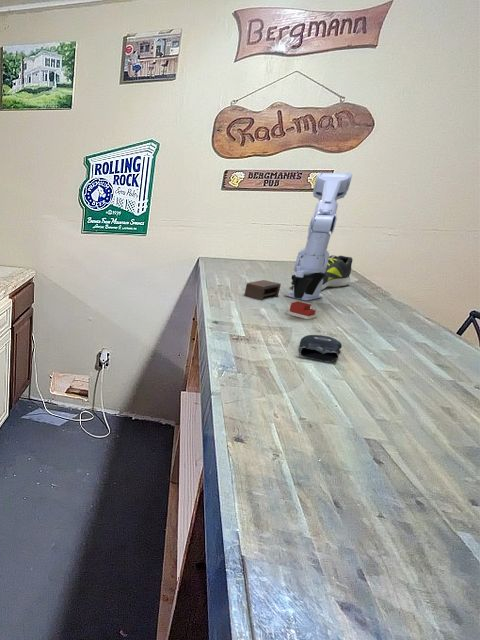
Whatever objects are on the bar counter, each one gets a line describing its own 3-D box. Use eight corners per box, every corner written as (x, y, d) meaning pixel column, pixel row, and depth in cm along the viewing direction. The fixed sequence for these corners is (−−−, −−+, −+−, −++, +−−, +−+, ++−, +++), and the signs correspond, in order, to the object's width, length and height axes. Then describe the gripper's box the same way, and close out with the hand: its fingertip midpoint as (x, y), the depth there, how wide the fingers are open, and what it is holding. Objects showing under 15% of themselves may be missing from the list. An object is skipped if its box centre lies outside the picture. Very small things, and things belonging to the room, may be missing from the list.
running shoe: (280, 287, 187) (288, 256, 182) (326, 279, 198) (334, 250, 193) (307, 293, 177) (315, 261, 172) (353, 285, 189) (362, 254, 184)
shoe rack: (260, 292, 180) (263, 279, 178) (277, 296, 174) (281, 283, 172) (244, 295, 176) (246, 282, 174) (260, 300, 170) (263, 286, 168)
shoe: (286, 313, 154) (289, 302, 153) (293, 312, 156) (296, 300, 154) (307, 319, 148) (310, 307, 147) (314, 317, 150) (318, 306, 149)
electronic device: (339, 369, 116) (341, 344, 126) (341, 350, 113) (344, 325, 124) (295, 365, 121) (301, 341, 132) (297, 347, 119) (303, 324, 129)
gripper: (311, 250, 152) (300, 290, 157) (290, 255, 144) (279, 296, 149) (335, 253, 146) (323, 294, 152) (314, 258, 139) (303, 301, 144)
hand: (303, 296), depth 150 cm, fingers open, 7 cm apart
